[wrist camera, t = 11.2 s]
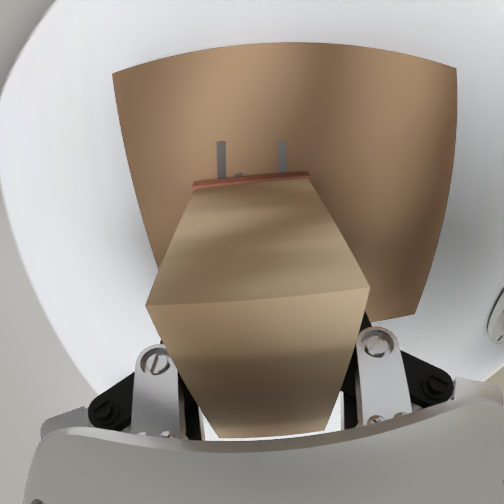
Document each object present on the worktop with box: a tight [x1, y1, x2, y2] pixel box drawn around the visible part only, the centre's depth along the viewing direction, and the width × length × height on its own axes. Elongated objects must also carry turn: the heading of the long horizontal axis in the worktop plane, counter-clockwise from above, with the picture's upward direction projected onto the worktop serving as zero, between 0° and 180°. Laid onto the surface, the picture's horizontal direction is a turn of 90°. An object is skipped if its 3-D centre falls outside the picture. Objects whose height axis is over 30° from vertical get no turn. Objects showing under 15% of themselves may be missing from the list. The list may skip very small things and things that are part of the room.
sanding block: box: [145, 172, 370, 438], centre depth 9 cm, size 4×7×6 cm, turn 5°
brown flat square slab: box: [112, 42, 457, 322], centre depth 11 cm, size 13×13×2 cm
